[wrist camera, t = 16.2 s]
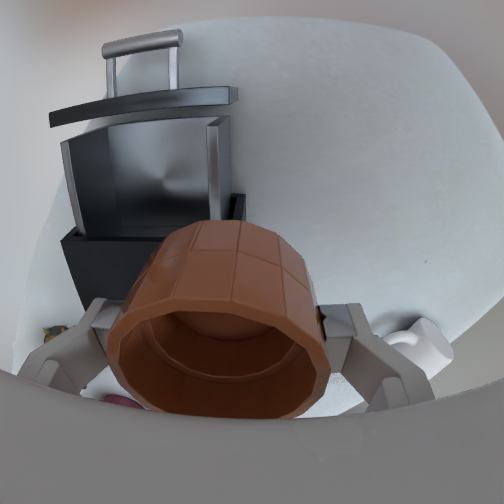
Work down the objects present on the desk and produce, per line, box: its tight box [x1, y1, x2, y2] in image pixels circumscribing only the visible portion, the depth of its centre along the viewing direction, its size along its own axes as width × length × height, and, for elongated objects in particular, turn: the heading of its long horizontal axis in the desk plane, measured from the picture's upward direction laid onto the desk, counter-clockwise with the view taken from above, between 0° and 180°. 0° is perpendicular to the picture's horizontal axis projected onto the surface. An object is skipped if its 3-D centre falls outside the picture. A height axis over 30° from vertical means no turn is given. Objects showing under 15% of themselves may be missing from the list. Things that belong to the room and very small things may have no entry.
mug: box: [382, 318, 454, 380], centre depth 35 cm, size 12×10×8 cm
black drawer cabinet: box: [60, 194, 246, 312], centre depth 28 cm, size 15×15×10 cm
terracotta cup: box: [106, 220, 331, 419], centre depth 10 cm, size 6×6×4 cm
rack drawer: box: [49, 29, 238, 237], centre depth 21 cm, size 18×13×8 cm
